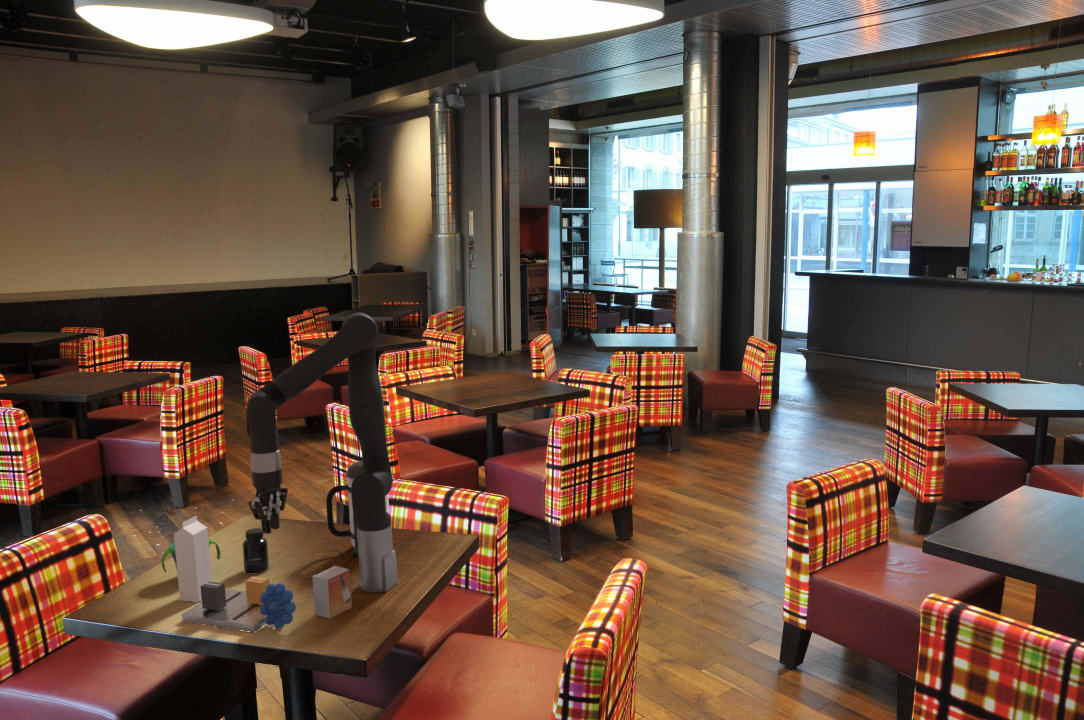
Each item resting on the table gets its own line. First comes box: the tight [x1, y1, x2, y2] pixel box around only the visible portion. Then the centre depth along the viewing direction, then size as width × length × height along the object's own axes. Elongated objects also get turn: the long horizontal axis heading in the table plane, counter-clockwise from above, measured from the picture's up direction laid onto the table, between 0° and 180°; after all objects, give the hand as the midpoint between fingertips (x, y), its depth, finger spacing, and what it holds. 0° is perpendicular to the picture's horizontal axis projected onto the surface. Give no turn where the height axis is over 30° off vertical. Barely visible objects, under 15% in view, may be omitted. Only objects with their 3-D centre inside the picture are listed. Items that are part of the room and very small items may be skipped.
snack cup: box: [161, 538, 221, 573], centre depth 236 cm, size 16×10×10 cm
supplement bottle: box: [242, 527, 270, 574], centre depth 240 cm, size 7×7×12 cm
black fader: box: [200, 581, 227, 611], centre depth 211 cm, size 5×3×6 cm, turn 71°
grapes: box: [260, 582, 297, 630], centre depth 204 cm, size 12×7×12 cm, turn 61°
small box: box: [311, 565, 353, 620], centre depth 212 cm, size 8×6×10 cm
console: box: [181, 588, 295, 633], centre depth 213 cm, size 22×16×2 cm
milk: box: [173, 515, 213, 603], centre depth 222 cm, size 6×6×22 cm
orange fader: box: [245, 575, 270, 605], centre depth 213 cm, size 5×3×6 cm, turn 71°
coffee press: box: [325, 460, 394, 557], centre depth 252 cm, size 17×16×30 cm
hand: (271, 530), depth 218 cm, fingers open, 3 cm apart
